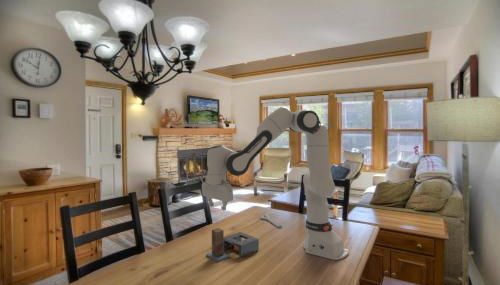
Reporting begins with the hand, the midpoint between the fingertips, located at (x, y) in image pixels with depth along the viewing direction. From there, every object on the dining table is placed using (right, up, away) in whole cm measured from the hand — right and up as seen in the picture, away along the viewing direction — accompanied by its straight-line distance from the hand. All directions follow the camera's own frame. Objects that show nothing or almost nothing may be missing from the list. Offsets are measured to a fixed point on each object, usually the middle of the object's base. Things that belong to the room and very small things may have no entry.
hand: (217, 208), depth 135 cm
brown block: (0, -23, +1) cm, 23 cm away
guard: (+11, -23, +9) cm, 27 cm away
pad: (0, -24, +1) cm, 24 cm away
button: (+11, -23, +9) cm, 27 cm away
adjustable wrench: (+29, -22, +52) cm, 63 cm away
